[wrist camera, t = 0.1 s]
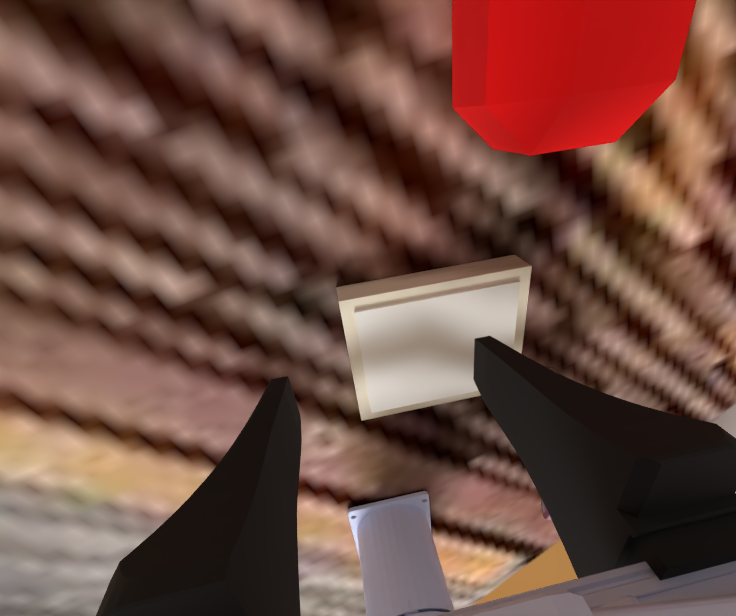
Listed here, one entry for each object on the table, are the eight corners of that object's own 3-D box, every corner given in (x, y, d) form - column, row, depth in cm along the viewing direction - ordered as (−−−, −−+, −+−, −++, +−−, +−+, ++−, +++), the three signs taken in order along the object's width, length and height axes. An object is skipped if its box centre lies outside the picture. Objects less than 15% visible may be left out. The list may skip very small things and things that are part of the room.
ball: (604, -65, 16) (816, -194, 9) (574, 130, 20) (708, 137, 13) (435, -46, 15) (532, -169, 9) (439, 151, 19) (508, 169, 13)
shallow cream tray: (504, 370, 28) (519, 390, 26) (358, 401, 27) (362, 423, 25) (514, 254, 23) (534, 267, 21) (336, 287, 22) (338, 303, 20)
